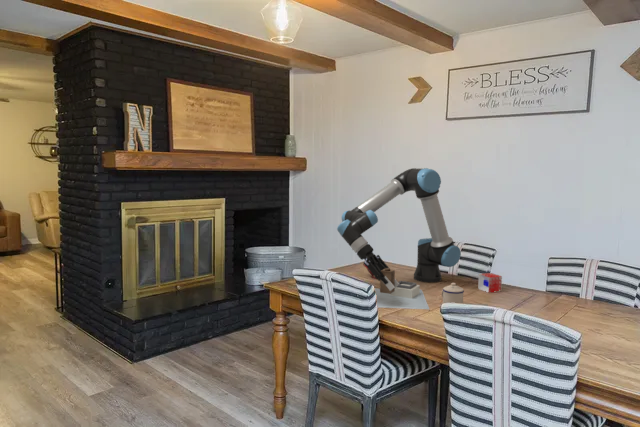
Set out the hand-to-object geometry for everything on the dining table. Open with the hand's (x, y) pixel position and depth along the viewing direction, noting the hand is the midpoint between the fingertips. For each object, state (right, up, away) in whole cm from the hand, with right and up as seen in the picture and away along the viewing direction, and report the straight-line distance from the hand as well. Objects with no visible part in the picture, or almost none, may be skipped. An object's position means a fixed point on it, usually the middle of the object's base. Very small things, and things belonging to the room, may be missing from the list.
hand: (394, 287), depth 212 cm
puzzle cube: (+53, -6, +28) cm, 60 cm away
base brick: (+8, -7, +17) cm, 20 cm away
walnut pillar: (-3, -2, +2) cm, 4 cm away
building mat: (+4, -7, +10) cm, 13 cm away
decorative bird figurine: (-5, -3, +52) cm, 52 cm away
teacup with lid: (+25, -9, -2) cm, 26 cm away
